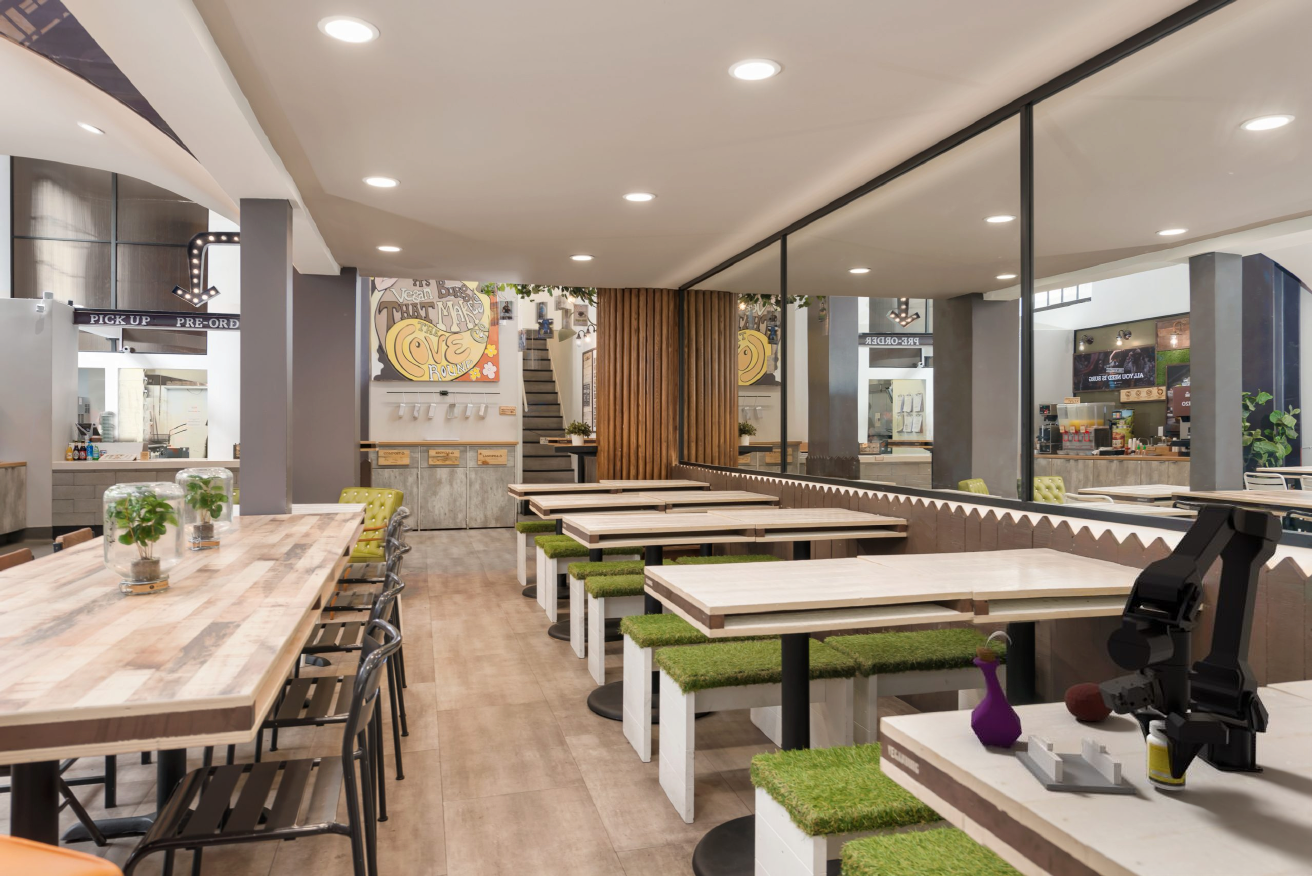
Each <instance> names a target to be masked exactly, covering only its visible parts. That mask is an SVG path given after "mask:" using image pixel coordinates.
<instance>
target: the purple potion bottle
mask: <svg viewBox="0 0 1312 876" xmlns="http://www.w3.org/2000/svg"><path fill="white" fill-rule="evenodd" d="M997 636H1004V637H1006V638H1007V639H1008V641H1009V643H1010V644H1012V640H1011V638H1010V636H1009V635H1008V634H1007V633H1006V632H1004V631H1003V630H998V631H995V632H993V633H992V634H991V635H990V636H989V637H988V639H987V642H986V644H985V646H978V647H976V648H975V650H976V654H977V657H975V658H973V664H974V665H977V666H978V667H979V668H980V670H981V672H982V675H983V676H984V679H985V683H986V694H985V697H984V698H983V699H982V700H981V702H979V704H978V705H977V706H976V707H974V709H973V710H972V711H971V713H970V715H971V717H970V719H971V720H970V728H971V730H973V732H974V734H975V735H976V737H977V738H978V740H979V742H980V744H981V745H984V746H990V747H997V748H1003V749H1004V748H1005V749H1010V748H1012V746H1013V745H1014V744H1015V743H1016V741H1017V740H1018V739H1019V738H1020V736H1021V735H1022V734H1023V730H1022V723H1021V722H1022V721H1021V717H1020V716H1019V715H1018V713H1017V712H1016V711H1015V709H1014V708H1013V706H1012V705H1011V704H1010V702H1009V701H1008V698H1007V696H1005V693H1004V691H1003V689H1002V686H1001V684H1000V680H999V679H998V676H997V672H996V671H997V668H998V667H999V666H1001V662H1000V660H999V659H997V658H996V652H995V650H994V649H992V648H990V647H988V643H989V641H990V640H991V639H992V638H994V637H997Z"/></svg>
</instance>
